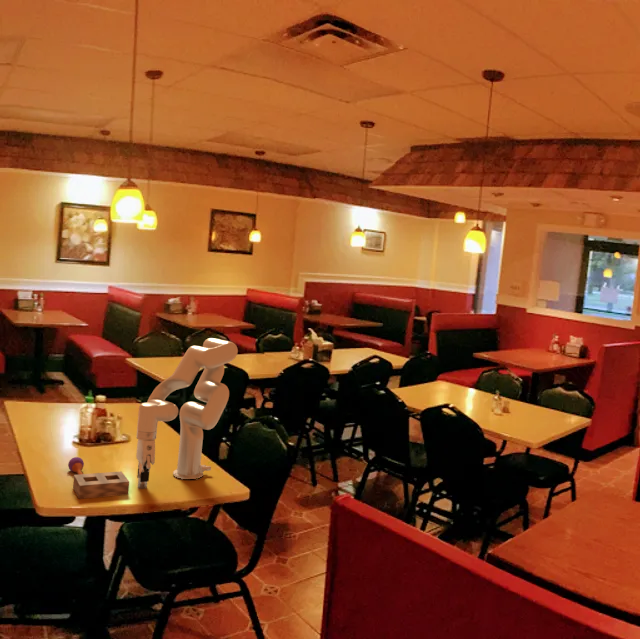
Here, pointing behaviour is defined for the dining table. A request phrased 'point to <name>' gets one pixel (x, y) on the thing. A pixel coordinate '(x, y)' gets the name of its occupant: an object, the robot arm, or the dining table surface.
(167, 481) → the dining table surface
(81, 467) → the kendama
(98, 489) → the walnut block
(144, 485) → the steel pin
